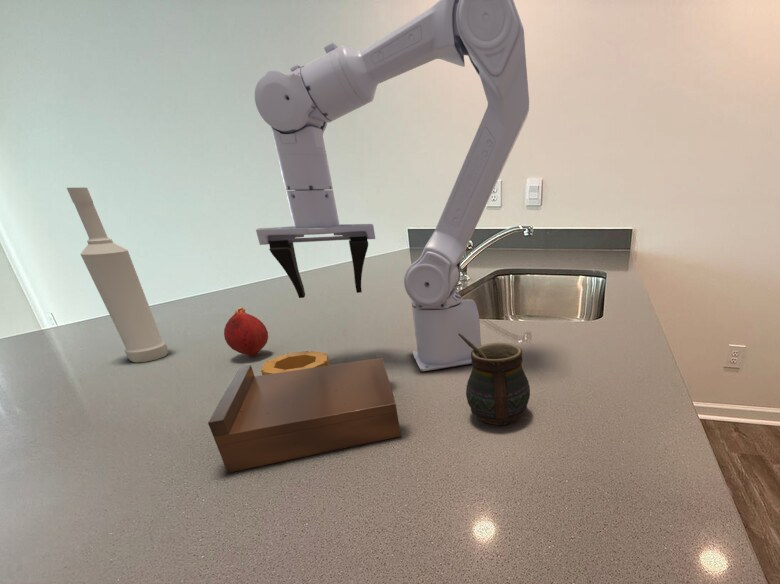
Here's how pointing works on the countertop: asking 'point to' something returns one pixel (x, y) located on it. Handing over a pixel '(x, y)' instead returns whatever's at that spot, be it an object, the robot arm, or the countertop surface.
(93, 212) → the bottle
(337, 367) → the shelf
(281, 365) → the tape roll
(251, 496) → the countertop surface
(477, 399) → the mate gourd
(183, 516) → the countertop surface
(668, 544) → the countertop surface
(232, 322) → the red pomegranate
